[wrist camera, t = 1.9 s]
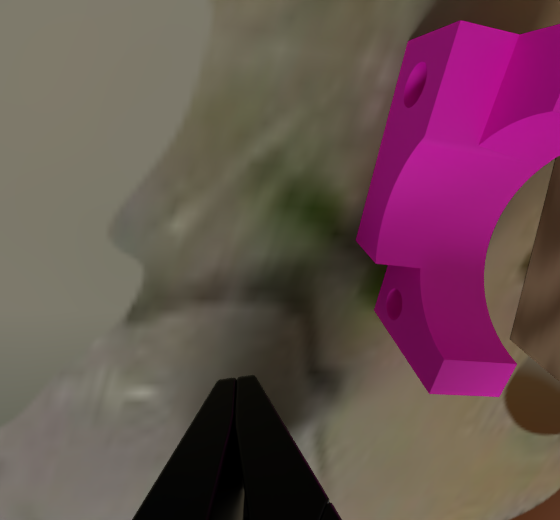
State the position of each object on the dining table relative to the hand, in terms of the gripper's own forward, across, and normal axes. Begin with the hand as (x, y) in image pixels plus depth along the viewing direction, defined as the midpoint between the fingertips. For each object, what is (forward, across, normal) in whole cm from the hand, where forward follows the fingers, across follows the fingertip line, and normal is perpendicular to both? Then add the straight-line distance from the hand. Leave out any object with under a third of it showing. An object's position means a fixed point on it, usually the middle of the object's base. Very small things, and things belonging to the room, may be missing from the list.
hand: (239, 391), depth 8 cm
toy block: (+13, -10, 0) cm, 17 cm away
